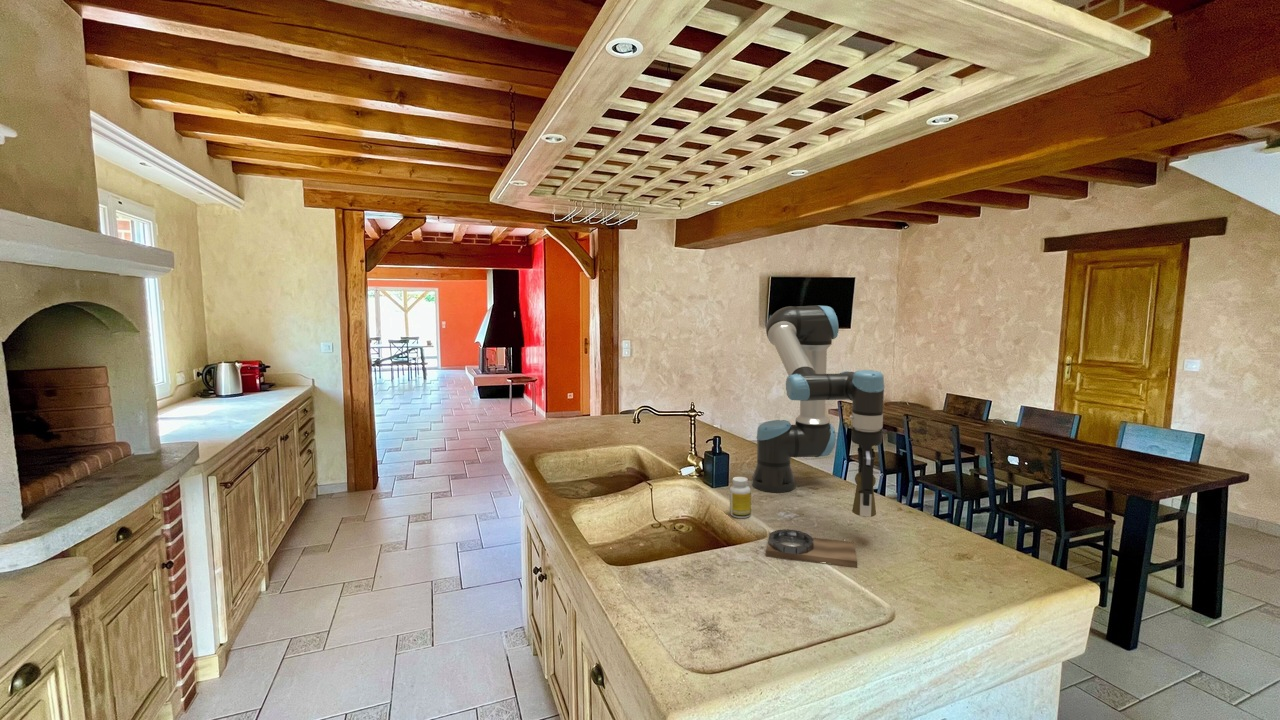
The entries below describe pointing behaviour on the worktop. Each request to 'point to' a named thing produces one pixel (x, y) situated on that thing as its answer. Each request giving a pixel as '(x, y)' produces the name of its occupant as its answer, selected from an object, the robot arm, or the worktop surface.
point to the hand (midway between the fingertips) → (864, 510)
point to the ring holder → (791, 541)
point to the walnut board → (823, 553)
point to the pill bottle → (740, 498)
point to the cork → (857, 497)
